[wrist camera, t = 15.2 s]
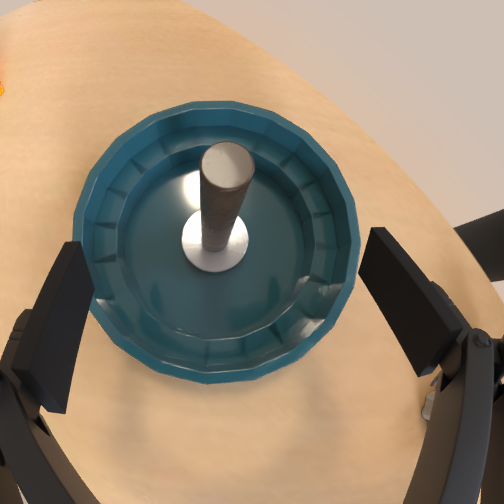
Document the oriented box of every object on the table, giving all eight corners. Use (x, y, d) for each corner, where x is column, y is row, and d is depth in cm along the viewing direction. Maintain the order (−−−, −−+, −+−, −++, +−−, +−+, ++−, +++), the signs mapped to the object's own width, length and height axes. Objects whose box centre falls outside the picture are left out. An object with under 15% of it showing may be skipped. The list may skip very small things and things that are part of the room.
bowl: (370, 259, 27) (405, 248, 22) (202, 413, 23) (202, 440, 17) (231, 102, 28) (237, 65, 22) (59, 228, 23) (29, 210, 18)
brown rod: (258, 247, 25) (322, 177, 11) (210, 287, 24) (217, 262, 10) (218, 199, 25) (236, 89, 12) (169, 238, 24) (131, 156, 10)
